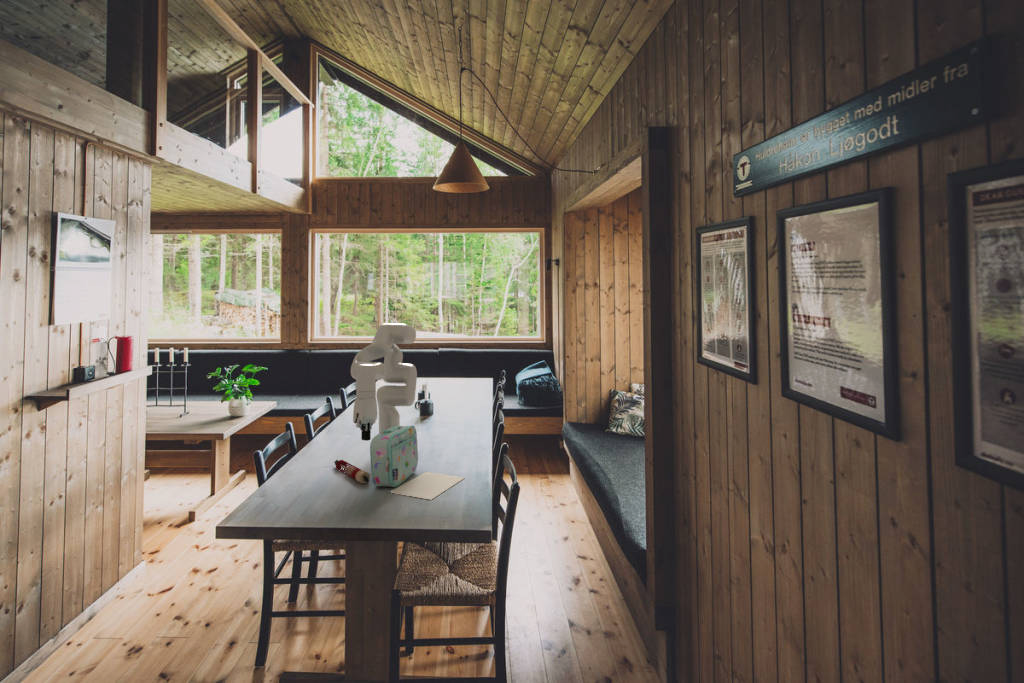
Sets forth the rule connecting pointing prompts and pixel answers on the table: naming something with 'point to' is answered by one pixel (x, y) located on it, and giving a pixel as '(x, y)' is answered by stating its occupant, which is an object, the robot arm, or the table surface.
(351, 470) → the shock absorber
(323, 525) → the table surface
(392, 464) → the lunch box
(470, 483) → the table surface
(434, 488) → the mat
